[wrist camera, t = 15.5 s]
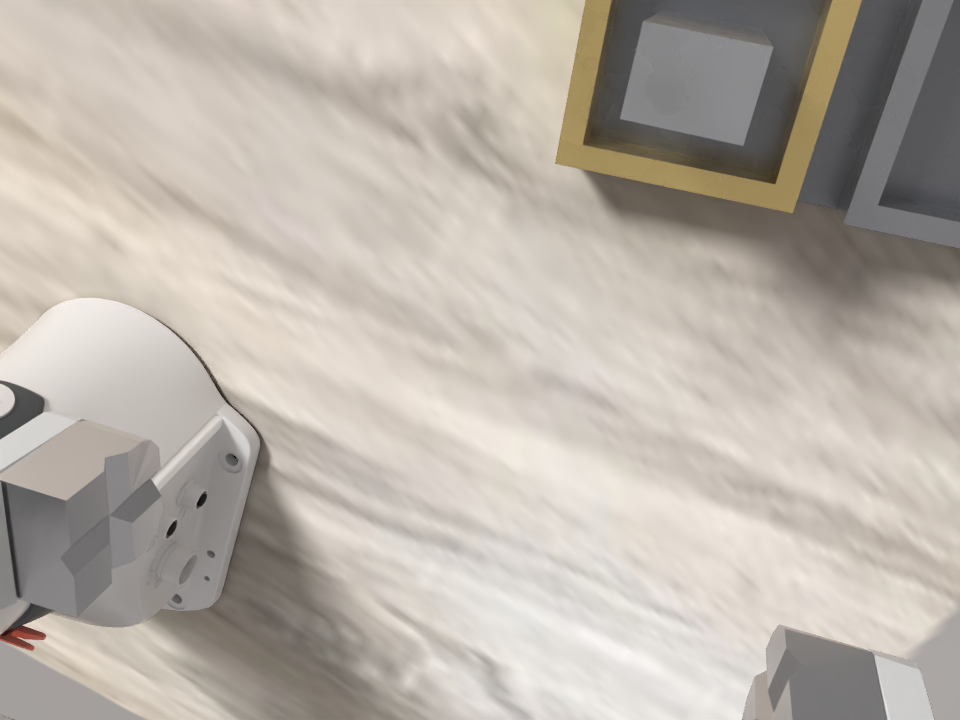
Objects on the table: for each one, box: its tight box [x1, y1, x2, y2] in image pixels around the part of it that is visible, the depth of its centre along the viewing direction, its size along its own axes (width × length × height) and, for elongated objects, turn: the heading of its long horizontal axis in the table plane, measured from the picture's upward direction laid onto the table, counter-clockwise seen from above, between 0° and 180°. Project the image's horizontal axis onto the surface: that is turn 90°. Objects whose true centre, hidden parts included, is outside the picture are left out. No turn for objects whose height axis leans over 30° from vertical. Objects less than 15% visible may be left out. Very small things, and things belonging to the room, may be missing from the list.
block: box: [620, 10, 773, 146], centre depth 31 cm, size 3×4×10 cm
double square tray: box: [555, 0, 960, 248], centre depth 33 cm, size 10×22×4 cm, turn 81°
